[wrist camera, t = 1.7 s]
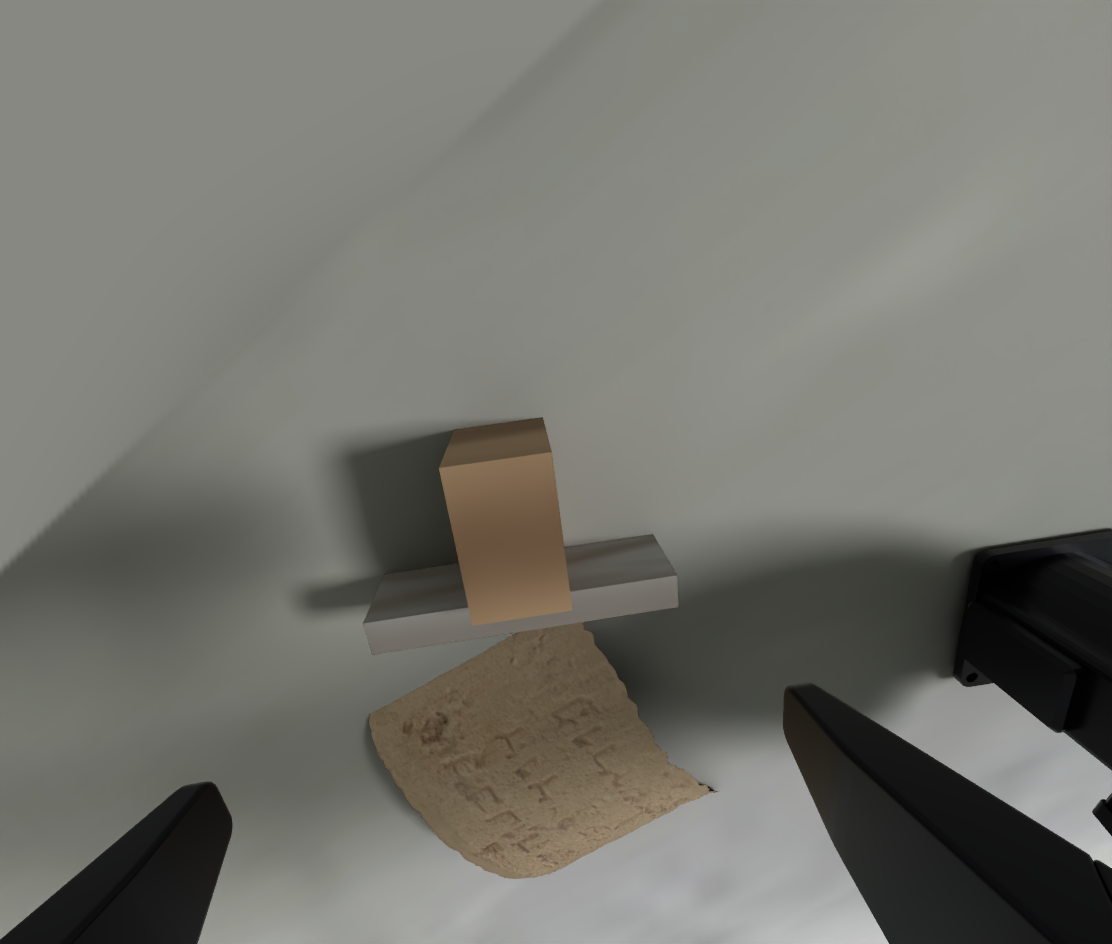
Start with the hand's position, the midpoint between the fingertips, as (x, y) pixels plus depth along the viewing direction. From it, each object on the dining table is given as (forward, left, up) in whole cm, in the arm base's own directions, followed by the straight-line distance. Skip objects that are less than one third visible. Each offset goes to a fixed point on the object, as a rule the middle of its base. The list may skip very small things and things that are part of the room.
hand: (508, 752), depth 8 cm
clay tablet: (0, +12, -12) cm, 17 cm away
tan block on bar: (0, 0, -11) cm, 11 cm away
